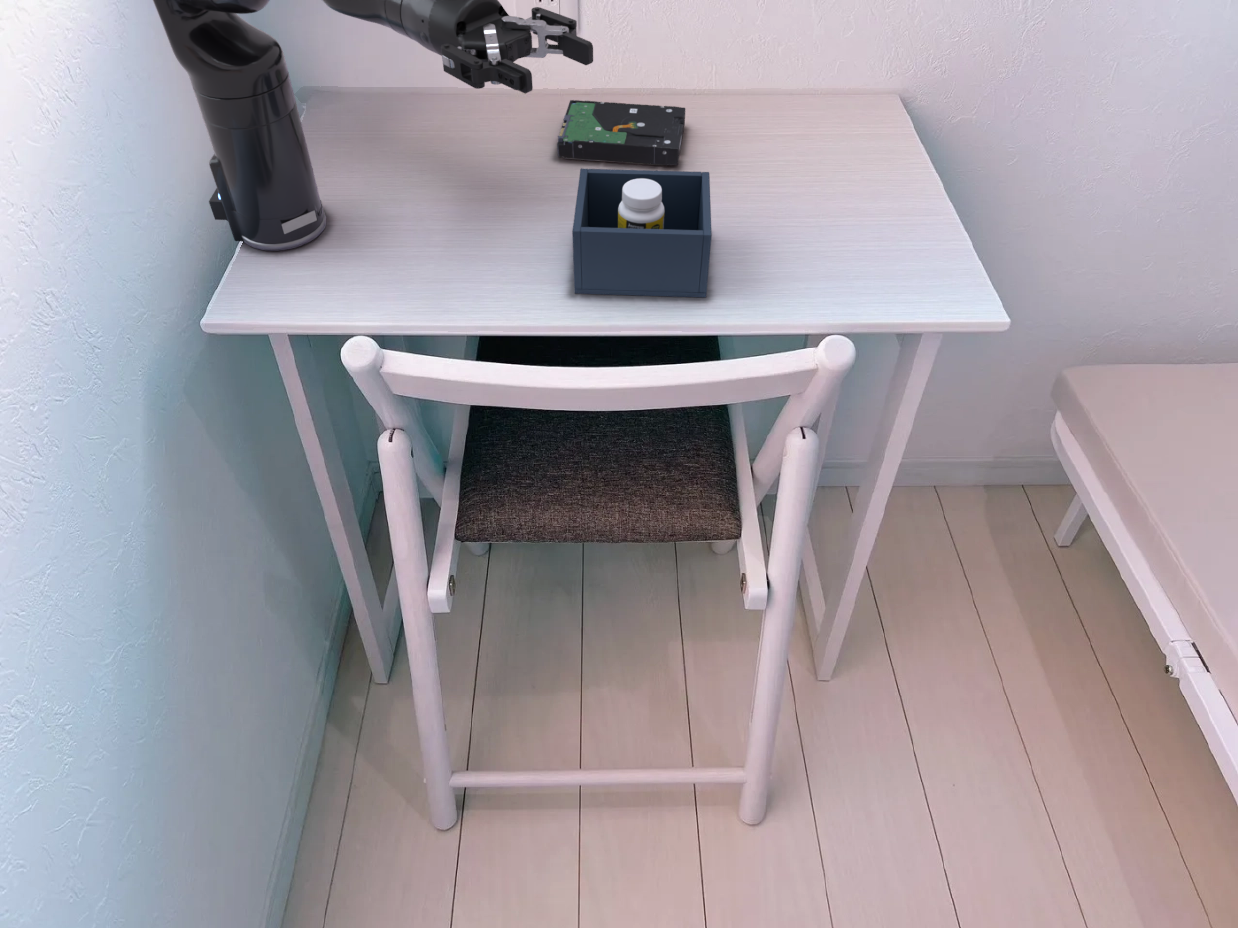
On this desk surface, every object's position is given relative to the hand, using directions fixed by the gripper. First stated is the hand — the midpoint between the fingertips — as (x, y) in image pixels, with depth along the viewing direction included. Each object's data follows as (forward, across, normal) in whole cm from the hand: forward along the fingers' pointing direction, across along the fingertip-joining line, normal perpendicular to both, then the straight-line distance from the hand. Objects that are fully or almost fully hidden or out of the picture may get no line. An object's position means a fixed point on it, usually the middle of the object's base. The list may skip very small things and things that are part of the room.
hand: (561, 68), depth 97 cm
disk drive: (-7, +17, +18) cm, 26 cm away
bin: (+11, 0, +18) cm, 21 cm away
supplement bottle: (+11, 0, +17) cm, 21 cm away
